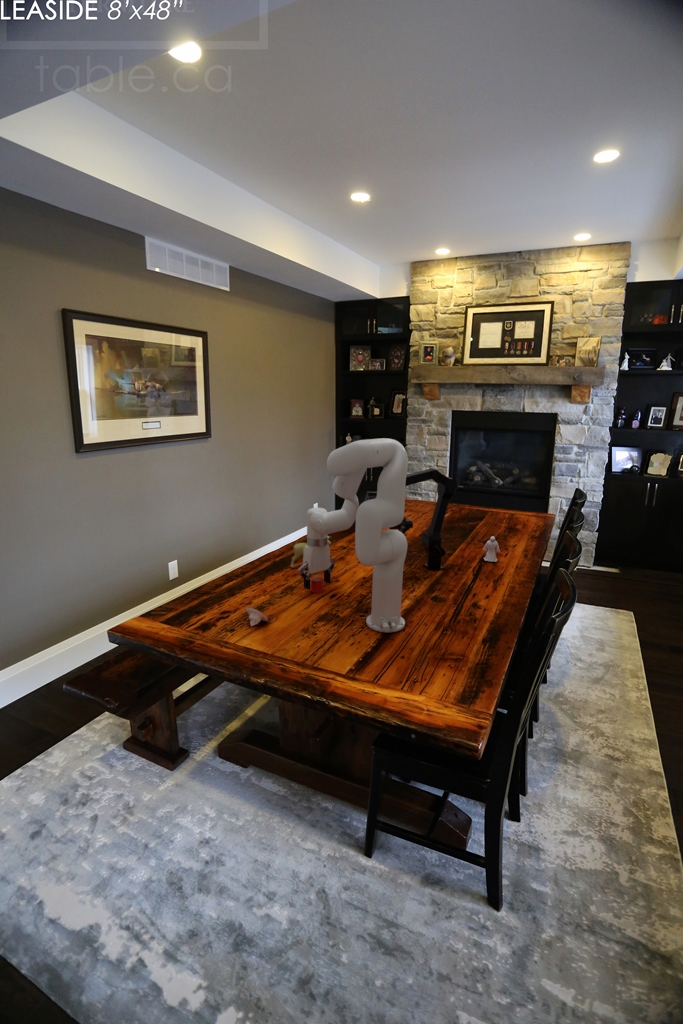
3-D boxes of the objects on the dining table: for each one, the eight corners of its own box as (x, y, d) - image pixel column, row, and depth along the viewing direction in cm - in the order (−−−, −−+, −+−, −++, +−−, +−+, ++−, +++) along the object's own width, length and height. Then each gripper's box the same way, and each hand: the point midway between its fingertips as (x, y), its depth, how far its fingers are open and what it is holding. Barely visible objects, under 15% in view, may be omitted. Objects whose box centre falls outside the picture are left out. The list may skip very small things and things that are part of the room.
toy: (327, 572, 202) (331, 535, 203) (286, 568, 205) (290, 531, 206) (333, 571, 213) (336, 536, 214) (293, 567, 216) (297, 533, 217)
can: (309, 589, 189) (309, 577, 188) (320, 587, 191) (320, 576, 190) (312, 593, 185) (313, 581, 184) (324, 592, 187) (324, 580, 186)
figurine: (481, 562, 222) (483, 536, 219) (482, 556, 230) (484, 531, 227) (499, 564, 220) (501, 538, 217) (499, 558, 228) (501, 533, 225)
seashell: (251, 634, 162) (235, 615, 161) (262, 623, 165) (246, 604, 164) (262, 630, 156) (245, 610, 155) (273, 618, 159) (257, 599, 158)
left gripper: (328, 535, 192) (328, 577, 196) (292, 543, 180) (292, 588, 184) (341, 539, 186) (341, 582, 190) (305, 548, 175) (305, 594, 179)
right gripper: (374, 513, 193) (373, 551, 196) (419, 511, 197) (417, 548, 201) (365, 506, 203) (364, 543, 207) (408, 504, 208) (407, 540, 212)
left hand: (317, 585), depth 187 cm, fingers open, 9 cm apart
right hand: (388, 544), depth 206 cm, fingers open, 9 cm apart
